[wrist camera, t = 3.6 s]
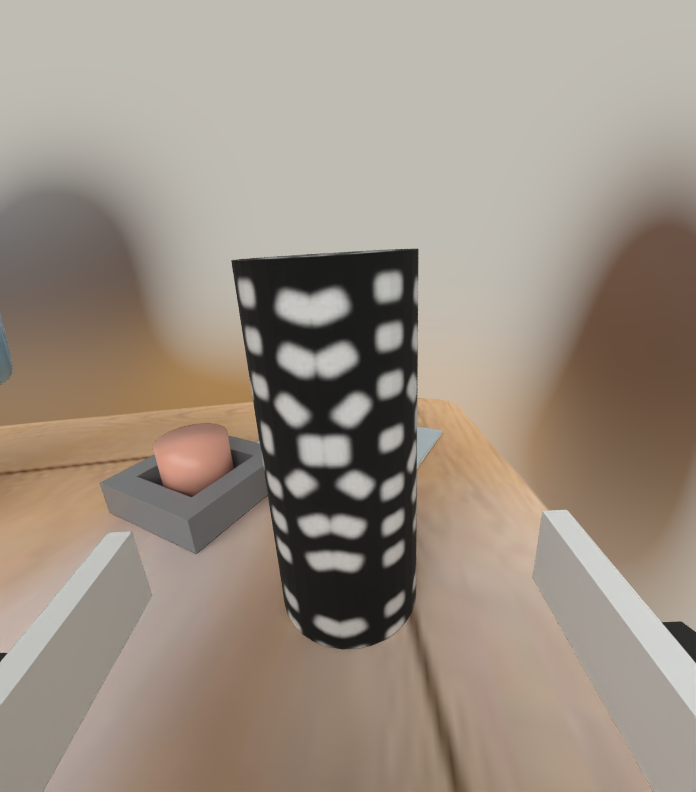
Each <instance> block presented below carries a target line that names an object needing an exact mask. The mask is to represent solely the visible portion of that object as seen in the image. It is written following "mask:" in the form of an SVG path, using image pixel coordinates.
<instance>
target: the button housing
mask: <svg viewBox="0 0 696 792" xmlns="http://www.w3.org/2000/svg"><path fill="white" fill-rule="evenodd" d="M228 439H229V444H230V450H231V455H232V460H233V466H234V469H233V470H232V471H230V472H229V473H227V474H226V475H224V476H223V477H221V478H220V479H218V480H217V481H215V482H214V483H212V484H211V485H209V486H208V487H206V488H205V489H203V490H202V491H200V492H199V493H198V494H196V495H195V496H193V497H189V496H187V495H184V494H181V493H179V492H176V491H173V490H171V489H168V488H165V487H163V484H162V480H161V476H160V473H159V469H158V465H157V461H156V458H155V455H153V456H151V457H149V458H147V459H145V460H143V461H142V462H140V463H138V464H136V465H134V466H132V467H130V468H128V469H126V470H124V471H122V472H120V473H118V474H116V475H114V476H112V477H110V478H108V479H107V480H105V481H103V482H101V483H100V486H101V489H102V491H103V494H104V497H105V500H106V503H107V506H108V509H109V512H110V513H112V514H114V515H116V516H118V517H120V518H122V519H124V520H126V521H128V522H130V523H132V524H135V525H137V526H139V527H141V528H143V529H145V530H147V531H149V532H151V533H153V534H155V535H158V536H160V537H162V538H164V539H166V540H168V541H170V542H172V543H174V544H176V545H178V546H181V547H183V548H185V549H187V550H189V551H191V552H193V553H195V554H197V553H198V552H199V551H200V550H201V549H203V548H204V547H205V546H206V545H207V544H209V543H210V542H211V541H212V540H214V539H215V538H216V537H217V536H218V535H220V534H221V533H222V532H223V531H225V530H226V529H227V528H228V527H229V526H231V525H232V524H233V523H234V522H235V521H237V520H238V519H239V518H240V517H242V516H243V515H244V514H245V513H246V512H248V511H249V510H250V509H251V508H252V507H254V506H255V505H256V504H257V503H259V502H260V501H261V500H262V499H263V498H265V497H266V496H267V495H268V492H267V486H266V479H265V473H264V466H263V460H262V454H261V447H260V443H255V442H251V441H247V440H243V439H239V438H235V437H231V436H228Z"/></svg>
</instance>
